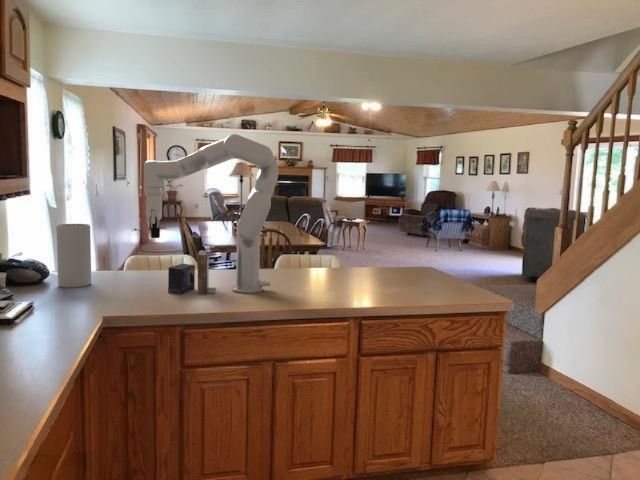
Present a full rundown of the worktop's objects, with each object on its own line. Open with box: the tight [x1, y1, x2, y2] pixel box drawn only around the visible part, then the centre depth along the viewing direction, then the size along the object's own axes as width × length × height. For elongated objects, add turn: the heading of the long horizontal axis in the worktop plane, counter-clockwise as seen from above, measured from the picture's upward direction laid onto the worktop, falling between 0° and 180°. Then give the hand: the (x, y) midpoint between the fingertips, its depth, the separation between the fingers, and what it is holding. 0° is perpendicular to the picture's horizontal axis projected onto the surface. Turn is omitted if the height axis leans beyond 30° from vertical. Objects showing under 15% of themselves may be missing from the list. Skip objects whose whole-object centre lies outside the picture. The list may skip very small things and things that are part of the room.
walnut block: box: [197, 249, 208, 296], centre depth 207 cm, size 3×12×16 cm, turn 9°
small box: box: [167, 263, 196, 295], centre depth 206 cm, size 11×6×10 cm, turn 163°
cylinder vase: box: [55, 223, 92, 289], centre depth 209 cm, size 12×12×25 cm
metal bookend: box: [205, 254, 217, 295], centre depth 207 cm, size 4×11×14 cm, turn 9°
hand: (155, 237), depth 204 cm, fingers closed
